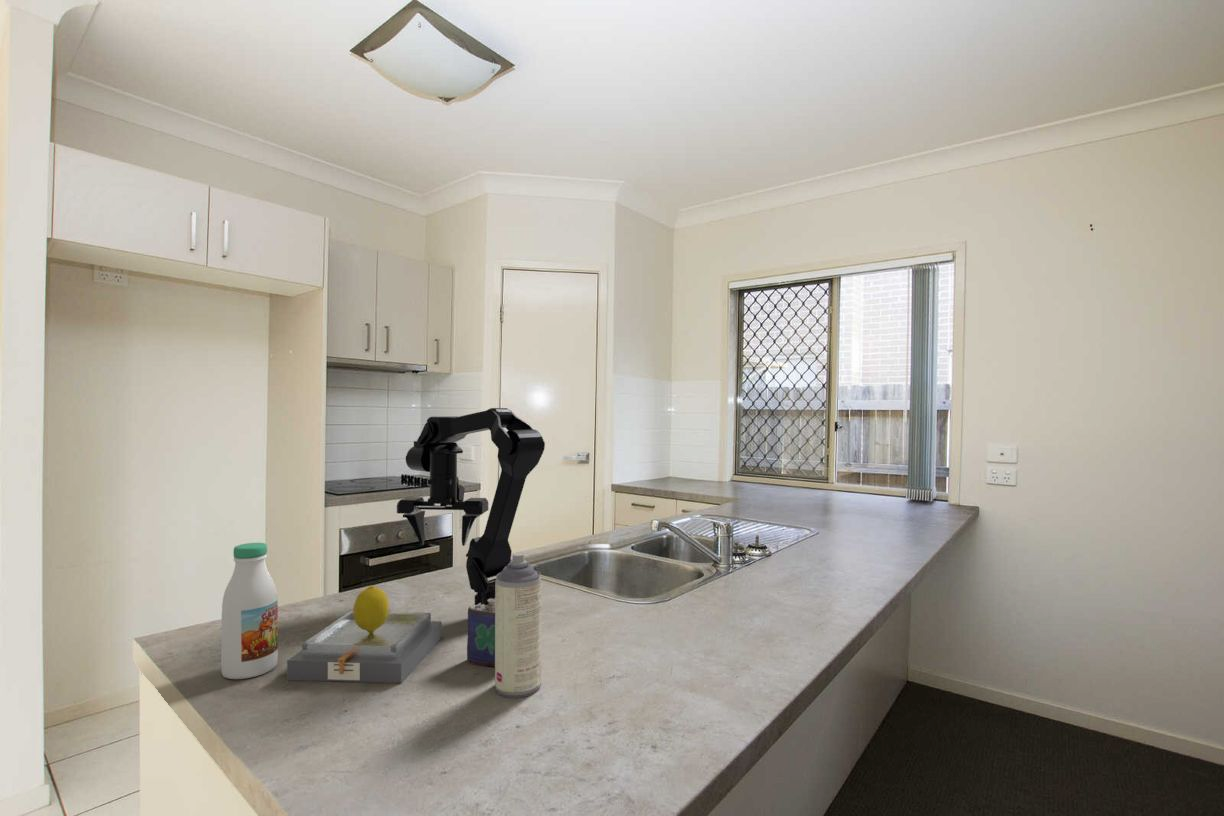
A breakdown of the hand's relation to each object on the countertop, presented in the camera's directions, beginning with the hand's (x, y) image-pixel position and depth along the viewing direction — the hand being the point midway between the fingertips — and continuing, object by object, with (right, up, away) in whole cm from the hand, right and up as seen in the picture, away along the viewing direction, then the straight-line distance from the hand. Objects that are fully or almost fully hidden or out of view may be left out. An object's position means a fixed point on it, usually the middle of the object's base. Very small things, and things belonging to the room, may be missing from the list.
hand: (443, 545), depth 130 cm
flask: (+17, -12, -32) cm, 38 cm away
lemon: (-4, -8, -30) cm, 31 cm away
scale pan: (-4, -10, -31) cm, 33 cm away
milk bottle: (-21, -12, -35) cm, 42 cm away
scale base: (-4, -12, -30) cm, 32 cm away
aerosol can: (+23, -12, -40) cm, 48 cm away
